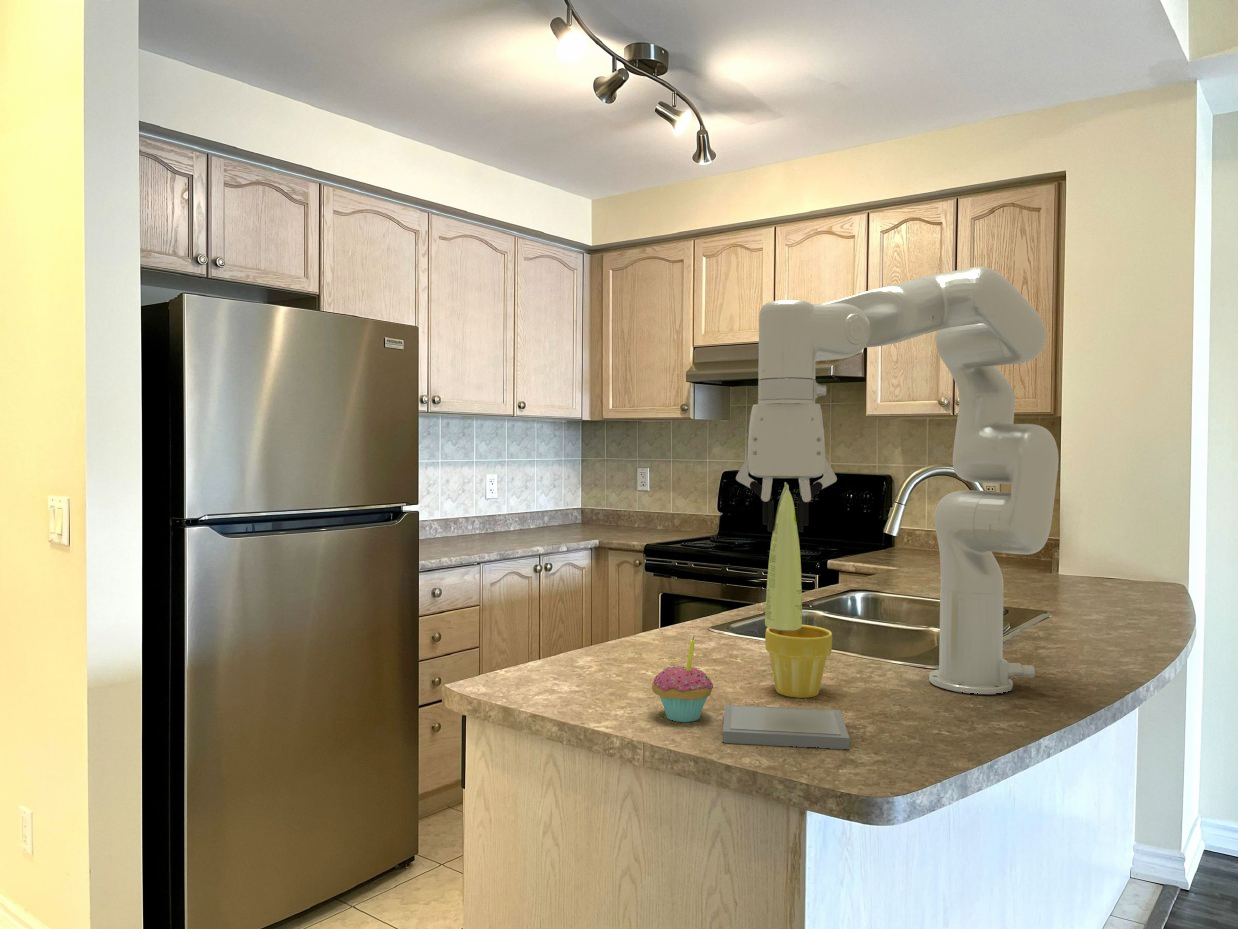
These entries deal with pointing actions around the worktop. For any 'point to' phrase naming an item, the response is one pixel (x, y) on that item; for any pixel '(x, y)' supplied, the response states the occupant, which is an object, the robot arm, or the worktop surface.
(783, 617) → the tube
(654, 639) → the worktop surface
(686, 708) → the cupcake
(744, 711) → the grey flat block
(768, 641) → the plant pot
